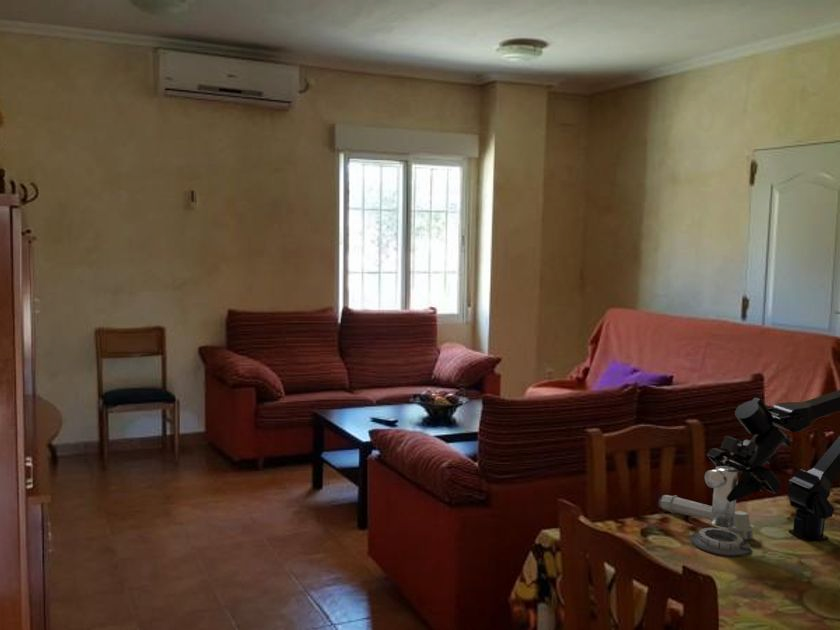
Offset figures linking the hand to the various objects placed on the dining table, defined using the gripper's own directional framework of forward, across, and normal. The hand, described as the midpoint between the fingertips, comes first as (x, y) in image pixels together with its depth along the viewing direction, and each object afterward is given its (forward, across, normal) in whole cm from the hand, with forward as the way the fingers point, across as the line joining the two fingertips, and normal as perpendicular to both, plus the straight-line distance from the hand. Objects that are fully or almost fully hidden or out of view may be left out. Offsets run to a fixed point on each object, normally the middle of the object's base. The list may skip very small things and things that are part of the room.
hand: (720, 496), depth 182 cm
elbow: (+4, 0, +6) cm, 7 cm away
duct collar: (+8, 0, +9) cm, 12 cm away
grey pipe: (+4, -12, +14) cm, 19 cm away
